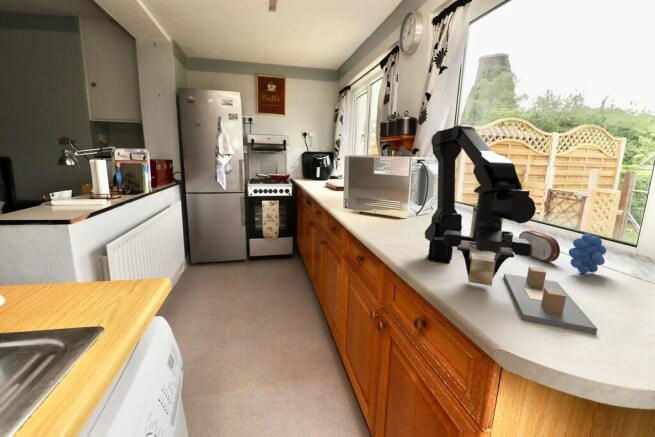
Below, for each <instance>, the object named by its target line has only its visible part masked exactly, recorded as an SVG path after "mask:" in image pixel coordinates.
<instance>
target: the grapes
mask: <svg viewBox="0 0 655 437" xmlns="http://www.w3.org/2000/svg"><path fill="white" fill-rule="evenodd" d="M572 244H573V246H574V247H571V248H570V249H568V254H569V257H571V259H570V262H569V263H570V264H571V266H572V267H573V268H574V269H577V271H578V272H579V273H580V274H588V273H591V274H592V273H593V274H594V273H596V272H598V269H599V267H598V266H603V265H604V264H605V262H606V260H605V258H604V255H606V254H607V248H606V247H605V245H603V242H602V239H601V237H599V236H596V235H594V236H593V235H592V234H590V233H584V234H582V236H581V238H580V237H576V238H575V239H573V242H572Z"/></svg>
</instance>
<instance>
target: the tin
mask: <svg viewBox="0 0 655 437" xmlns="http://www.w3.org/2000/svg"><path fill="white" fill-rule="evenodd" d="M518 238H520V239H526V240H527V241H528V242H529V243H530V244H531V245H532V255H531V256H530V257H531V258H534V259H536V260H538V261H541V262H544V263H545V262H546V263H547V262H550V263H551V262H554V261H556V260H557V259H559V256H560V253H561V248H560V244H559V242H558V241H557V239H556V238H554V237H553V236H551V235H548V234H545V233H543V232H538V231H536V230H533V229H532V230H525V231H522V232H521V233H520V234H519V236H518Z"/></svg>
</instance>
